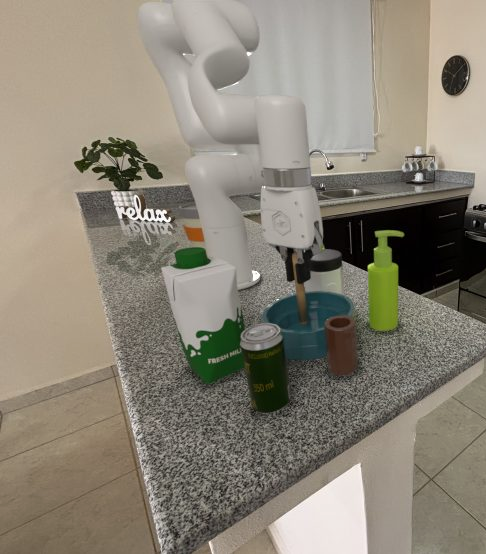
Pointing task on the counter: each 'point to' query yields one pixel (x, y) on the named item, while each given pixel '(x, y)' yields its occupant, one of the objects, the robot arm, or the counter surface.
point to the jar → (326, 272)
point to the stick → (300, 295)
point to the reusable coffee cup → (192, 224)
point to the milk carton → (206, 312)
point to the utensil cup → (341, 344)
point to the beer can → (265, 367)
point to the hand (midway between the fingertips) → (299, 279)
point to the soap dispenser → (383, 285)
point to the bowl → (311, 336)
